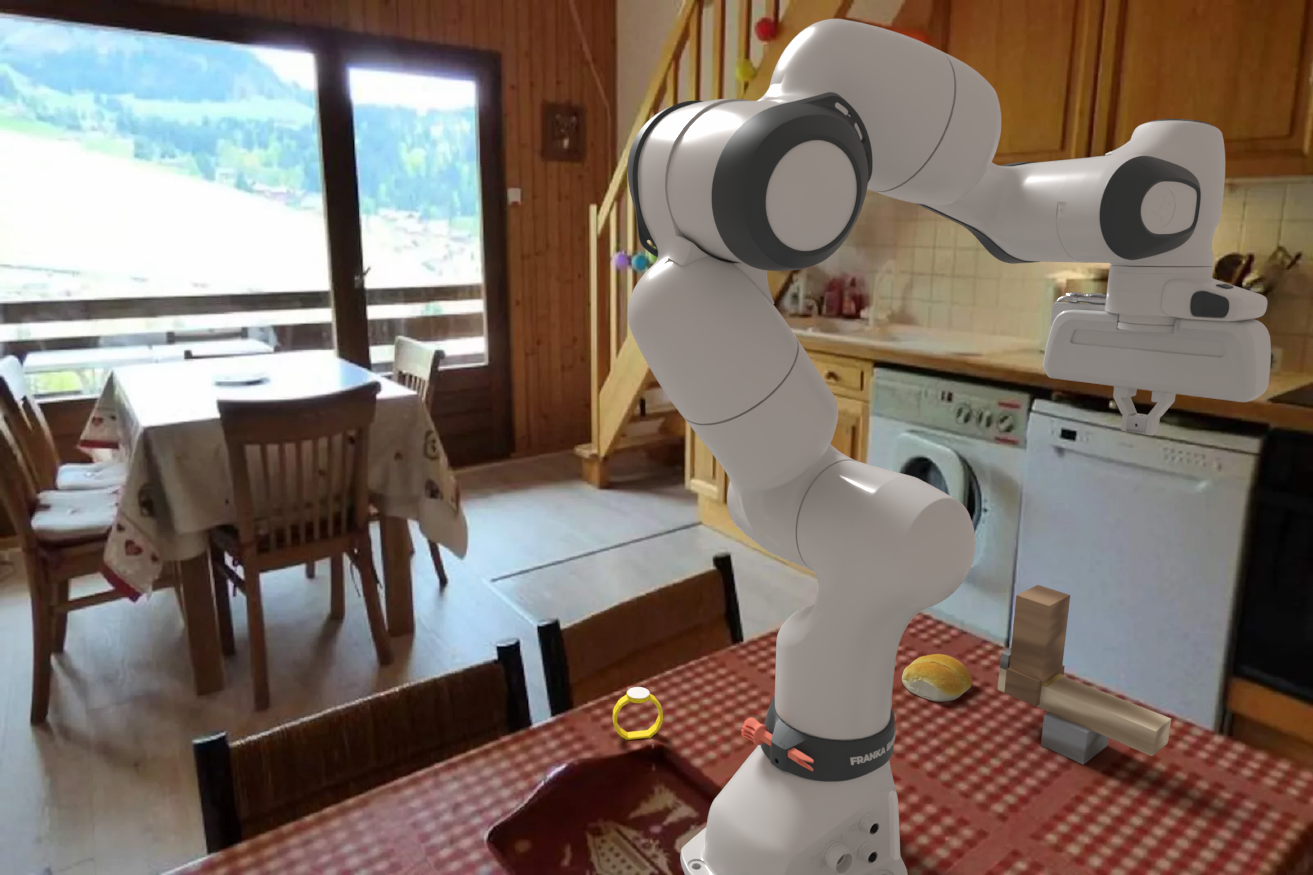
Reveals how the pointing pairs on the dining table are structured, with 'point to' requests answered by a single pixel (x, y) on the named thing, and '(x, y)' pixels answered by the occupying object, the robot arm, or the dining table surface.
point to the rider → (1036, 642)
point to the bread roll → (937, 677)
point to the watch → (637, 697)
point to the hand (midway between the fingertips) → (1139, 432)
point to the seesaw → (1091, 719)
